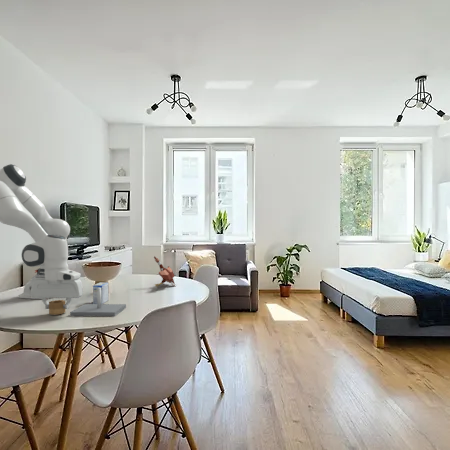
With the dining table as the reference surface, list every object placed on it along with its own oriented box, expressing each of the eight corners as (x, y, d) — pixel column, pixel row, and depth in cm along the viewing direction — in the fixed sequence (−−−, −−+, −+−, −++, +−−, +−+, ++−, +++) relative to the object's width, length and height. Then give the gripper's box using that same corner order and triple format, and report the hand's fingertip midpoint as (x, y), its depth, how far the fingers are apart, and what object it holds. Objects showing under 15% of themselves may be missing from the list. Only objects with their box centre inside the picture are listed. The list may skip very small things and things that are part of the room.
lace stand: (70, 315, 143) (69, 290, 143) (85, 307, 157) (85, 284, 157) (114, 316, 142) (114, 290, 142) (126, 307, 156) (125, 284, 156)
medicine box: (99, 300, 171) (99, 282, 171) (108, 300, 171) (108, 282, 171) (92, 304, 163) (92, 285, 163) (102, 304, 163) (102, 285, 163)
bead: (46, 314, 144) (45, 303, 144) (53, 310, 150) (53, 300, 150) (60, 314, 144) (60, 303, 143) (68, 310, 150) (67, 300, 149)
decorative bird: (150, 276, 223) (159, 253, 222) (177, 287, 222) (186, 265, 222) (137, 284, 194) (147, 258, 194) (168, 297, 194) (179, 271, 193)
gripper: (27, 276, 144) (27, 310, 144) (77, 275, 143) (78, 310, 143) (36, 273, 150) (36, 306, 150) (84, 273, 149) (84, 306, 149)
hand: (57, 308), depth 147 cm, fingers closed on bead, 6 cm apart
